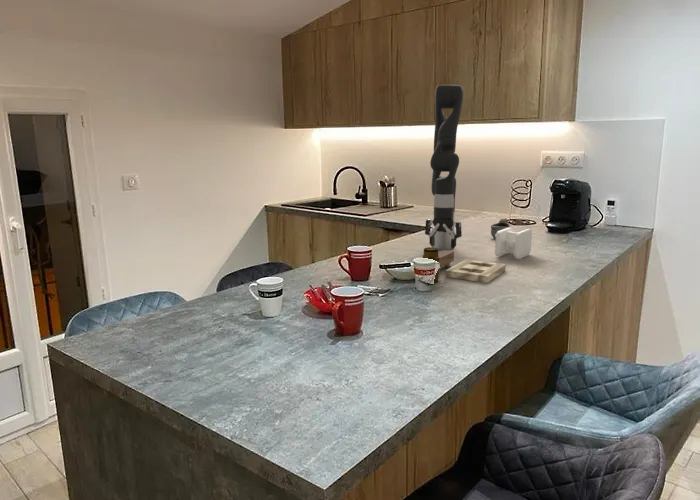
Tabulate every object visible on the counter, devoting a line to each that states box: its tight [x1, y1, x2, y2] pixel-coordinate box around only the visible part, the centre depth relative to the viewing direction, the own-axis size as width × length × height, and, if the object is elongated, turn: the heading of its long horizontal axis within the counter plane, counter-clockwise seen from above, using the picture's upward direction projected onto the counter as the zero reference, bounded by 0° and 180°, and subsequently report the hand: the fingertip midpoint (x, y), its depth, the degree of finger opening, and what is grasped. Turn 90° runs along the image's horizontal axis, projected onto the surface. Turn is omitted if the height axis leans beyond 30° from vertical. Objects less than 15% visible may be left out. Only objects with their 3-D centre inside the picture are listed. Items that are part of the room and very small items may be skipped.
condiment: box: [422, 246, 447, 285], centre depth 189 cm, size 7×8×12 cm
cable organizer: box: [494, 227, 533, 261], centre depth 224 cm, size 15×11×12 cm
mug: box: [490, 217, 512, 240], centre depth 262 cm, size 10×12×10 cm
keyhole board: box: [445, 259, 507, 284], centre depth 199 cm, size 16×20×2 cm
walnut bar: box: [438, 250, 455, 269], centre depth 206 cm, size 4×14×6 cm, turn 146°
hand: (442, 247), depth 204 cm, fingers open, 8 cm apart
